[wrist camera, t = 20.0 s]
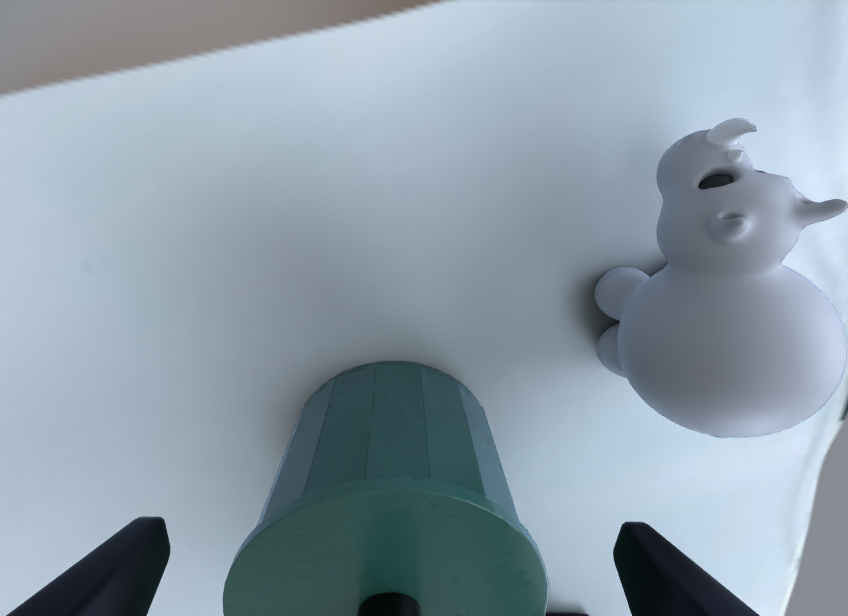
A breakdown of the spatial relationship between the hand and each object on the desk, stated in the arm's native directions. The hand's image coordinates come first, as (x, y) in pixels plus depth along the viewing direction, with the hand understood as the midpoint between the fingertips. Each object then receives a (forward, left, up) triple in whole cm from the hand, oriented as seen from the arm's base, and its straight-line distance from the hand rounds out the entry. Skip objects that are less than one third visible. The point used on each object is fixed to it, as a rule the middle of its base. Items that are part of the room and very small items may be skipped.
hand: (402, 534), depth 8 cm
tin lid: (-9, 0, -5) cm, 10 cm away
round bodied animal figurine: (+3, -12, -13) cm, 18 cm away
